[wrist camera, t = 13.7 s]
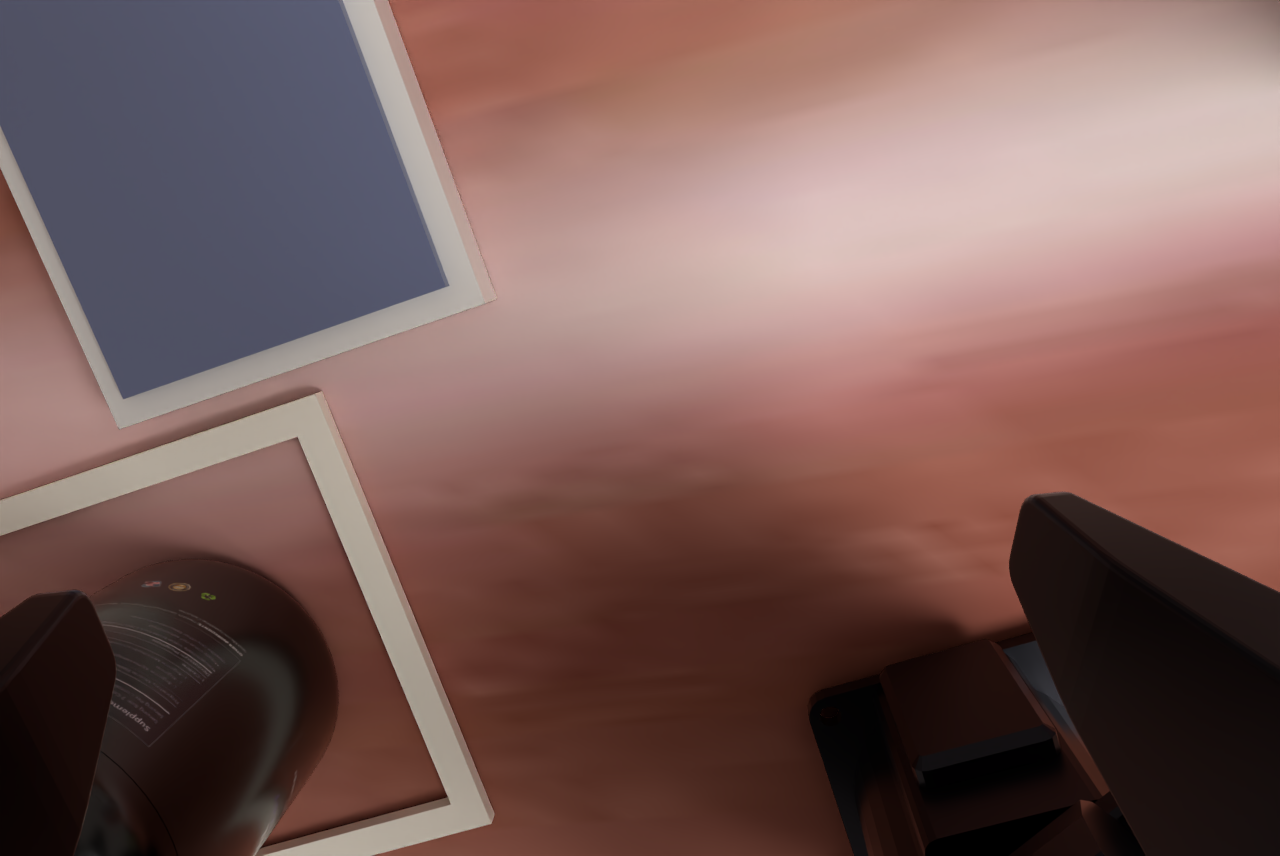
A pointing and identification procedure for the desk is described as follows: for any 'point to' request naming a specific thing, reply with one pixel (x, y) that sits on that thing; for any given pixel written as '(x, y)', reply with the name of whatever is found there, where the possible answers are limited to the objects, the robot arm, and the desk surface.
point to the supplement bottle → (205, 711)
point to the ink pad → (228, 187)
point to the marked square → (309, 418)
